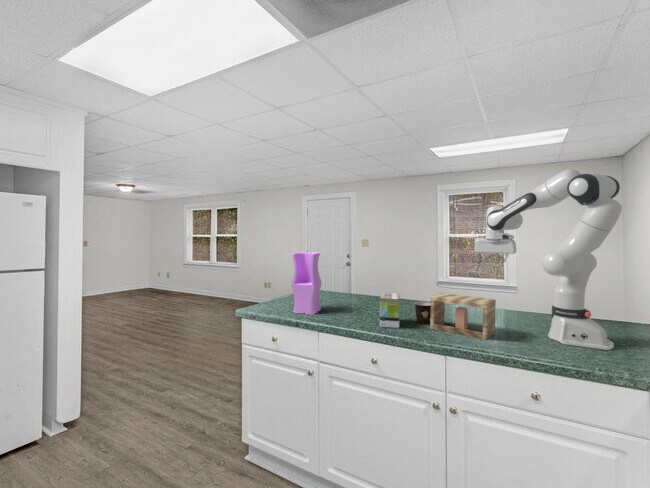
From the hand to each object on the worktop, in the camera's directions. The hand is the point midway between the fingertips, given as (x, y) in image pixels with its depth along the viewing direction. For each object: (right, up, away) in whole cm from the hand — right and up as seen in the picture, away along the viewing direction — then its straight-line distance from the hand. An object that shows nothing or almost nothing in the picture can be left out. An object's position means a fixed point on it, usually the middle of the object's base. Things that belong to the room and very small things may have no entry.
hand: (494, 261), depth 179 cm
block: (-26, -32, -21) cm, 46 cm away
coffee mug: (-39, -32, -7) cm, 51 cm away
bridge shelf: (-26, -32, -20) cm, 46 cm away
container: (-102, -31, +19) cm, 109 cm away
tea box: (-58, -32, -8) cm, 67 cm away
